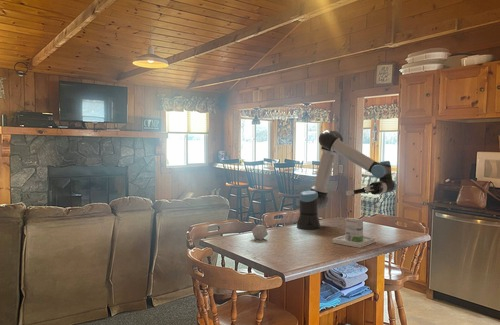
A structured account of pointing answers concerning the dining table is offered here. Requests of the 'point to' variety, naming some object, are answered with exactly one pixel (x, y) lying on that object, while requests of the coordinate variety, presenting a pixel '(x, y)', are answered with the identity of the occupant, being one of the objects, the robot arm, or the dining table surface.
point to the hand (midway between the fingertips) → (356, 191)
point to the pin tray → (354, 243)
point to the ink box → (354, 229)
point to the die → (259, 232)
